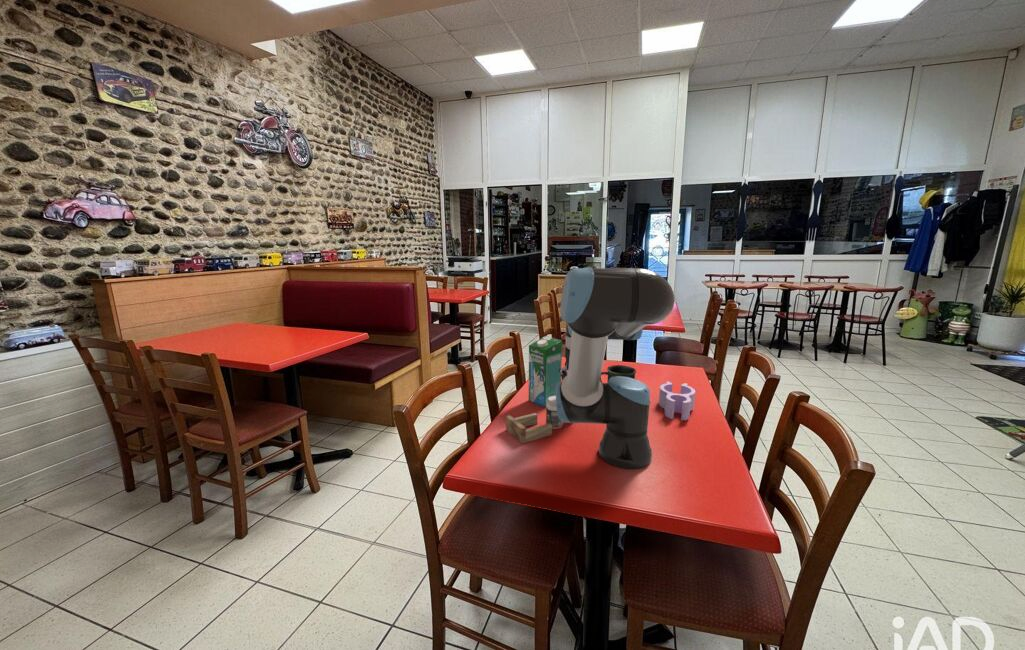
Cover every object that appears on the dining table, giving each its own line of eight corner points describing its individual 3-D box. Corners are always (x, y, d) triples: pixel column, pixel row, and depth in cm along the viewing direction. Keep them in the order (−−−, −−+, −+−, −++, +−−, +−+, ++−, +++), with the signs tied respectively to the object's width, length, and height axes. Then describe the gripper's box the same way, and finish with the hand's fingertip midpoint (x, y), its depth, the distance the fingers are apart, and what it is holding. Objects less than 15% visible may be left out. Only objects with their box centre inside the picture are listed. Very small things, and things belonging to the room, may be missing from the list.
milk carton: (528, 400, 160) (528, 339, 154) (544, 394, 165) (545, 335, 160) (544, 407, 153) (545, 344, 147) (560, 401, 159) (562, 339, 153)
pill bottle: (544, 421, 141) (545, 395, 139) (560, 421, 142) (561, 395, 140) (547, 429, 136) (547, 402, 134) (564, 429, 136) (564, 401, 134)
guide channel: (552, 434, 132) (552, 420, 131) (521, 443, 127) (521, 429, 126) (535, 422, 141) (535, 408, 140) (506, 429, 136) (505, 416, 135)
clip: (696, 422, 141) (698, 404, 139) (658, 417, 145) (660, 399, 143) (692, 400, 159) (693, 384, 158) (658, 396, 163) (659, 380, 162)
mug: (632, 405, 155) (634, 375, 152) (594, 399, 161) (595, 370, 158) (636, 395, 164) (638, 367, 162) (600, 389, 170) (602, 362, 168)
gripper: (584, 342, 143) (582, 403, 149) (554, 347, 137) (552, 411, 143) (598, 347, 137) (595, 411, 143) (567, 353, 131) (565, 419, 136)
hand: (574, 411), depth 143 cm, fingers closed
